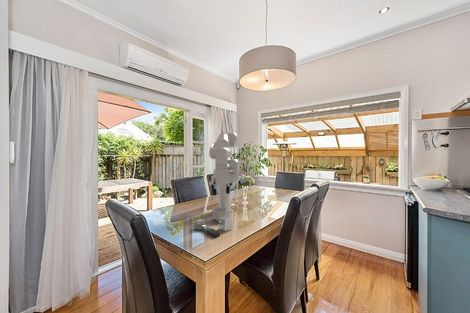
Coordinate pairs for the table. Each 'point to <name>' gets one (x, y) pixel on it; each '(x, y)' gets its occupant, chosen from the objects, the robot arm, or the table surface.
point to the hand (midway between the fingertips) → (221, 194)
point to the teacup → (219, 213)
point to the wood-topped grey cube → (225, 223)
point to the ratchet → (205, 229)
